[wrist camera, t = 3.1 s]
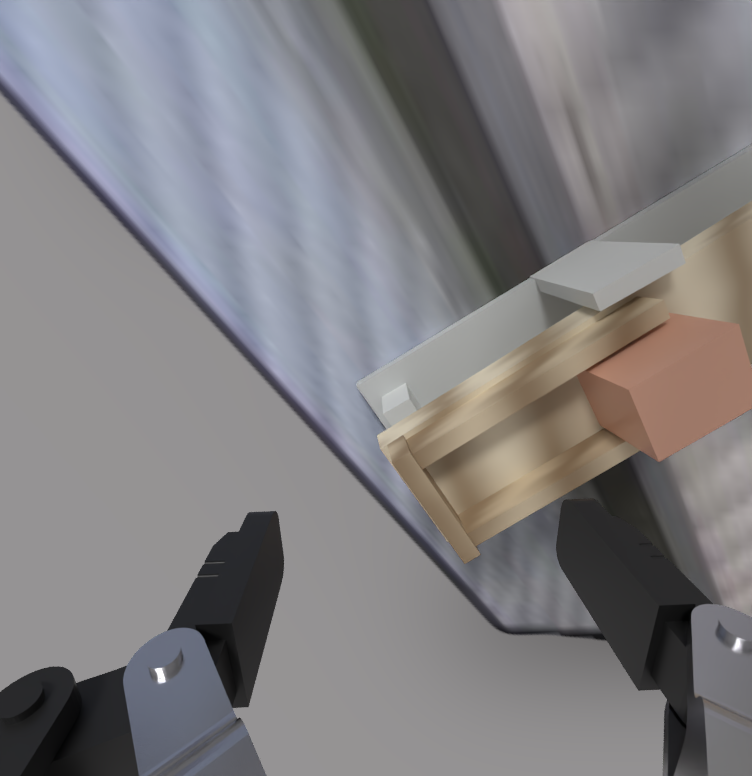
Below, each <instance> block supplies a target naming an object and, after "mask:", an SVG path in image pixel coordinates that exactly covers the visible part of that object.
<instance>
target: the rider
mask: <svg viewBox="0 0 752 776" xmlns="http://www.w3.org/2000/svg"><path fill="white" fill-rule="evenodd" d="M669 316H670V319H668V320H666V321H665V322H663V323H661V324H660V325H658V326H656V327H655V328H653V329H652V330H650V331H648V332H647V333H645V334H643V335H642V336H640V337H638V338H637V339H635V340H634V341H632V342H630V343H629V344H627V345H625V346H624V347H622V348H620V349H619V350H617V351H615V352H614V353H612V354H611V355H609V356H607V357H606V358H604V359H602V360H601V361H599V362H597V363H596V364H594V365H593V366H591V367H589V368H588V369H586V370H584V371H583V372H581V373H579V374H578V375H577V377H578V380H579V382H580V384H581V386H582V388H583V390H584V392H585V395H586V397H587V399H588V401H589V403H590V405H591V407H592V410H593V412H594V414H595V416H596V418H597V420H598V422H599V425H601V426H602V427H604V428H605V429H607V430H609V431H610V432H612V433H613V434H615V435H616V436H618V437H620V438H621V439H623V440H624V441H626V442H628V443H629V444H631V445H632V446H634V447H636V448H637V449H639V450H640V451H642V452H644V453H645V454H647V455H648V456H650V457H652V458H653V459H655V460H656V461H658V462H660V461H662V460H664V459H665V458H667V457H669V456H671V455H672V454H674V453H676V452H678V451H679V450H681V449H683V448H684V447H686V446H688V445H690V444H691V443H693V442H695V441H697V440H698V439H700V438H702V437H704V436H705V435H707V434H709V433H710V432H712V431H714V430H716V429H717V428H719V427H721V426H723V425H724V424H726V423H728V422H730V421H731V420H733V419H735V418H737V417H738V416H740V415H742V414H743V413H745V412H747V411H749V410H750V409H752V368H751V364H750V361H749V357H748V354H747V350H746V347H745V343H744V340H743V336H742V333H741V329H740V326H739V324H736V323H730V322H724V321H718V320H711V319H705V318H699V317H693V316H687V315H681V314H674V313H669Z"/></svg>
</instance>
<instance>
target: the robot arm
mask: <svg viewBox="0 0 752 776" xmlns="http://www.w3.org/2000/svg"><path fill="white" fill-rule="evenodd" d="M556 551H557V557H558V561H559V564H560V566H561V568H562V570H563V572H564V573H565V575H566V577H567V578H568V580H569V581H570V583H571V584H572V586H573V588H574V589H575V591H576V592H577V594H578V596H579V597H580V599H581V600H582V602H583V603H584V605H585V607H586V608H587V610H588V611H589V613H590V615H591V616H592V618H593V619H594V621H595V622H596V624H597V626H598V627H599V629H600V630H601V632H602V634H603V635H604V637H605V638H606V640H607V641H608V643H609V644H610V646H611V648H612V649H613V651H614V652H615V654H616V656H617V657H618V659H619V660H620V662H621V664H622V665H623V667H624V668H625V670H626V672H627V673H628V675H629V676H630V678H631V679H632V681H633V683H634V684H635V686H636V687H637V689H638V690H659V689H660V690H661V691H662V693H663V694H664V695H665V697H666V698H667V702H666V706H665V711H664V748H663V776H752V617H750V616H748V615H746V614H744V613H742V612H740V611H737V610H735V609H732V608H729V607H726V606H721V605H716V604H713V603H712V602H711V601H710V600H709V599H708V598H707V597H706V596H705V595H704V594H703V593H702V592H701V591H700V590H699V589H698V588H697V587H696V586H695V585H694V584H693V583H692V582H691V581H690V580H688V579H687V578H686V577H685V576H684V575H683V574H682V573H681V572H680V571H679V570H678V569H677V568H676V567H675V566H674V565H673V564H672V563H671V562H670V561H669V560H668V559H665V558H664V555H663V554H662V553H661V552H660V551H659V550H658V549H657V548H656V547H655V546H652V543H651V542H650V541H649V540H648V539H647V538H646V537H645V536H644V535H643V534H642V533H641V532H640V531H639V530H638V529H637V528H635V527H634V526H632V525H630V524H629V523H627V522H625V521H624V520H622V519H620V518H619V517H617V516H616V517H612V516H611V515H610V514H609V513H608V512H607V511H606V510H605V509H604V508H603V506H602V505H601V504H600V503H599V502H598V501H597V500H595V499H572V500H564V501H563V503H562V506H561V513H560V521H559V528H558V536H557V543H556ZM283 571H284V556H283V548H282V541H281V533H280V526H279V518H278V514H277V512H276V511H270V512H249V513H248V514H247V516H246V518H245V520H244V522H243V524H242V526H241V528H240V531H239V532H228V533H227V534H226V535H225V536H223V537H222V538H221V539H220V540H219V541H218V542H217V543H216V544H215V545H214V546H213V547H212V549H211V551H210V553H209V555H208V556H207V558H206V560H205V564H204V565H203V566H202V568H201V569H200V571H199V573H198V577H197V578H196V579H195V581H194V582H193V584H192V586H191V588H190V590H189V592H188V594H187V596H186V597H185V599H184V601H183V603H182V605H181V606H180V608H179V610H178V612H177V614H176V616H175V618H174V619H173V621H172V623H171V625H170V627H169V629H168V630H167V631H166V632H163V633H161V634H159V635H157V636H156V637H154V638H152V639H151V640H149V641H148V642H147V643H146V644H144V645H143V646H142V647H141V648H140V649H139V650H138V651H137V652H136V653H135V654H134V656H133V657H132V658H131V660H130V662H129V663H128V665H127V666H125V667H122V668H119V669H117V670H114V671H111V672H108V673H105V674H102V675H99V676H96V677H93V678H90V679H87V680H84V681H81V682H78V683H76V682H75V679H74V677H73V675H72V673H71V672H70V671H69V670H68V669H66V668H64V667H48V668H44V669H40V670H37V671H35V672H32V673H30V674H28V675H26V676H24V677H22V678H20V679H18V680H17V681H15V682H13V683H12V684H10V685H9V686H8V687H6V688H5V689H4V690H2V691H1V692H0V776H266V774H265V771H264V769H263V767H262V765H261V762H260V760H259V757H258V755H257V753H256V750H255V748H254V745H253V743H252V741H251V738H250V736H249V734H248V732H247V729H246V727H245V725H244V723H243V721H242V720H241V718H238V719H237V717H236V715H235V713H234V711H233V708H238V707H248V706H249V703H250V699H251V695H252V692H253V688H254V684H255V680H256V677H257V673H258V669H259V665H260V662H261V658H262V654H263V650H264V646H265V643H266V639H267V635H268V632H269V628H270V624H271V620H272V616H273V612H274V609H275V605H276V601H277V598H278V593H279V590H280V586H281V582H282V578H283Z"/></svg>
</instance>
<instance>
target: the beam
mask: <svg viewBox="0 0 752 776" xmlns="http://www.w3.org/2000/svg"><path fill="white" fill-rule="evenodd" d="M680 246H681V250H682V253H683V256H684V259H685V262H686V263H685V264H684V265H682V266H680V267H678V268H676V269H675V270H673V271H671V272H669V273H668V274H666V275H664V276H662V277H660V278H659V279H657V280H655V281H653V282H652V283H650V284H648V285H646V286H645V287H643V288H641V289H639V290H637V291H636V292H634V293H632V294H630V295H629V296H627V297H625V298H623V299H622V300H620V301H618V302H616V303H614V304H613V305H611V306H609V307H607V308H606V309H604V310H602V311H597V310H594V309H591V308H588V307H585V306H583V307H581V308H580V309H578V310H577V311H575V312H573V313H572V314H570V315H569V316H567V317H565V318H564V319H562V320H561V321H559V322H558V323H556V324H554V325H553V326H551V327H550V328H548V329H546V330H545V331H543V332H542V333H540V334H538V335H537V336H535V337H534V338H532V339H530V340H529V341H527V342H526V343H524V344H522V345H521V346H519V347H518V348H516V349H514V350H513V351H511V352H510V353H508V354H506V355H505V356H503V357H502V358H500V359H498V360H497V361H495V362H494V363H492V364H490V365H489V366H487V367H486V368H484V369H482V370H481V371H479V372H478V373H476V374H475V375H473V376H471V377H470V378H468V379H467V380H465V381H463V382H462V383H460V384H459V385H457V386H455V387H454V388H452V389H451V390H449V391H447V392H446V393H444V394H443V395H441V396H439V397H438V398H436V399H435V400H433V401H431V402H430V403H428V404H427V405H425V406H423V407H422V408H420V409H419V410H417V411H415V412H414V413H412V414H411V415H409V416H407V417H406V418H404V419H403V420H401V421H399V422H398V423H396V424H395V425H393V426H392V427H390V428H388V429H387V430H385V431H384V432H382V433H380V434H379V435H377V437H378V441H379V445H380V449H381V451H382V452H383V453H384V455H385V456H386V457H387V459H388V460H389V462H390V463H391V464H392V466H393V467H394V469H395V470H396V471H397V473H398V474H399V475H400V477H401V478H402V480H403V481H404V482H405V484H406V485H407V487H408V488H409V489H410V491H411V492H412V493H413V495H414V496H415V498H416V499H417V500H418V502H419V503H420V505H421V506H422V507H423V509H424V510H425V511H426V513H427V514H428V516H429V517H430V518H431V520H432V521H433V523H434V524H435V525H436V527H437V528H438V529H439V531H440V532H441V534H442V535H443V536H444V538H445V539H446V541H447V542H449V543H450V544H451V546H452V547H453V548H454V550H455V551H456V553H457V554H458V555H459V557H460V558H461V560H462V561H463V562H464V564H465V563H467V562H469V561H471V560H472V559H474V558H476V557H478V556H479V555H481V554H480V552H479V550H478V548H477V545H479V544H481V543H482V542H484V541H486V540H487V539H489V538H491V537H493V536H494V535H496V534H498V533H499V532H501V531H503V530H505V529H506V528H508V527H510V526H512V525H513V524H515V523H517V522H518V521H520V520H522V519H524V518H525V517H527V516H529V515H530V514H532V513H534V512H536V511H537V510H539V509H541V508H542V507H544V506H546V505H548V504H549V503H551V502H553V501H555V500H556V499H558V498H560V497H561V496H563V495H565V494H567V493H568V492H570V491H572V490H573V489H575V488H577V487H579V486H580V485H582V484H584V483H585V482H587V481H589V480H591V479H592V478H594V477H596V476H597V475H599V474H601V473H603V472H604V471H606V470H608V469H610V468H611V467H613V466H615V465H616V464H618V463H620V462H622V461H623V460H625V459H627V458H628V457H630V456H632V455H634V454H635V453H637V452H639V451H640V450H639V449H637V448H636V447H634V446H632V445H631V444H629V443H628V442H626V441H624V440H623V439H621V438H620V437H618V436H616V435H615V434H613V433H612V432H610V431H609V430H607V429H605V428H604V427H602V426H601V425H599V422H598V420H597V418H596V416H595V414H594V412H593V410H592V407H591V405H590V403H589V401H588V399H587V397H586V395H585V392H584V390H583V388H582V386H581V384H580V382H579V380H578V377H577V375H578V374H579V373H581V372H583V371H584V370H586V369H588V368H589V367H591V366H593V365H594V364H596V363H597V362H599V361H601V360H602V359H604V358H606V357H607V356H609V355H611V354H612V353H614V352H615V351H617V350H619V349H620V348H622V347H624V346H625V345H627V344H629V343H630V342H632V341H634V340H635V339H637V338H638V337H640V336H642V335H643V334H645V333H647V332H648V331H650V330H652V329H653V328H655V327H656V326H658V325H660V324H661V323H663V322H665V321H666V320H668V319H670V316H669V313H674V314H681V315H687V316H693V317H699V318H705V319H711V320H718V321H724V322H730V323H736V324H739V326H740V329H741V333H742V336H743V340H744V343H745V347H746V350H747V354H748V357H749V361H750V364H752V201H751V202H749V203H747V204H746V205H744V206H743V207H741V208H739V209H738V210H736V211H735V212H733V213H731V214H730V215H728V216H727V217H725V218H723V219H722V220H720V221H719V222H717V223H716V224H714V225H712V226H711V227H709V228H708V229H706V230H704V231H703V232H701V233H700V234H698V235H696V236H695V237H693V238H692V239H690V240H688V241H687V242H685V243H684V244H682V245H680Z"/></svg>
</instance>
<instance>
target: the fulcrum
mask: <svg viewBox="0 0 752 776" xmlns="http://www.w3.org/2000/svg"><path fill="white" fill-rule="evenodd" d="M751 201H752V144H751V145H750V146H748V147H746V148H745V149H743V150H741V151H740V152H738V153H736V154H735V155H733V156H731V157H730V158H728V159H726V160H725V161H723V162H721V163H720V164H718V165H716V166H715V167H713V168H711V169H710V170H708V171H706V172H705V173H703V174H701V175H700V176H698V177H696V178H695V179H693V180H692V181H690V182H688V183H687V184H685V185H683V186H682V187H680V188H678V189H677V190H675V191H673V192H672V193H670V194H668V195H667V196H665V197H663V198H662V199H660V200H658V201H657V202H655V203H653V204H652V205H650V206H648V207H647V208H645V209H643V210H642V211H640V212H638V213H637V214H635V215H633V216H632V217H630V218H628V219H627V220H625V221H623V222H622V223H620V224H618V225H617V226H615V227H613V228H612V229H610V230H609V231H607V232H605V233H604V234H602V235H600V236H599V237H597V238H595V239H594V240H592V241H588V242H586V243H585V244H583V245H581V246H580V247H578V248H576V249H575V250H573V251H571V252H570V253H568V254H566V255H565V256H563V257H561V258H560V259H558V260H556V261H555V262H553V263H551V264H550V265H548V266H546V267H545V268H543V269H541V270H540V271H538V272H536V273H535V274H533V275H531V276H530V278H529V279H527V280H525V281H524V282H522V283H521V284H519V285H517V286H516V287H514V288H512V289H511V290H509V291H507V292H506V293H504V294H502V295H501V296H499V297H497V298H496V299H494V300H492V301H491V302H489V303H487V304H486V305H484V306H482V307H481V308H479V309H477V310H476V311H474V312H472V313H471V314H469V315H467V316H466V317H464V318H462V319H461V320H459V321H457V322H456V323H454V324H452V325H451V326H449V327H447V328H446V329H444V330H442V331H441V332H439V333H438V334H436V335H434V336H433V337H431V338H429V339H428V340H426V341H424V342H423V343H421V344H419V345H418V346H416V347H414V348H413V349H411V350H409V351H408V352H406V353H404V354H403V355H401V356H399V357H398V358H396V359H394V360H393V361H391V362H389V363H388V364H386V365H384V366H383V367H381V368H379V369H378V370H376V371H374V372H373V373H371V374H369V375H368V376H366V377H364V378H363V379H361V380H359V381H358V382H357V388H358V389H359V391H360V392H361V393H362V395H363V396H364V398H365V399H366V401H367V402H368V403H369V405H370V406H371V408H372V409H373V411H374V412H375V413H376V415H377V416H378V418H379V419H380V421H381V422H382V423H383V425H384V426H385V428H386V429H388V428H390V427H392V426H393V425H395V424H396V423H398V422H399V421H401V420H403V419H404V418H406V417H407V416H409V415H411V414H412V413H414V412H415V411H417V410H419V409H420V408H422V407H423V406H425V405H427V404H428V403H430V402H431V401H433V400H435V399H436V398H438V397H439V396H441V395H443V394H444V393H446V392H447V391H449V390H451V389H452V388H454V387H455V386H457V385H459V384H460V383H462V382H463V381H465V380H467V379H468V378H470V377H471V376H473V375H475V374H476V373H478V372H479V371H481V370H482V369H484V368H486V367H487V366H489V365H490V364H492V363H494V362H495V361H497V360H498V359H500V358H502V357H503V356H505V355H506V354H508V353H510V352H511V351H513V350H514V349H516V348H518V347H519V346H521V345H522V344H524V343H526V342H527V341H529V340H530V339H532V338H534V337H535V336H537V335H538V334H540V333H542V332H543V331H545V330H546V329H548V328H550V327H551V326H553V325H554V324H556V323H558V322H559V321H561V320H562V319H564V318H565V317H567V316H569V315H570V314H572V313H573V312H575V311H577V310H578V309H580V308H581V307H583V306H585V307H588V308H591V309H594V310H597V311H602V310H604V309H606V308H607V307H609V306H611V305H613V304H614V303H616V302H618V301H620V300H622V299H623V298H625V297H627V296H629V295H630V294H632V293H634V292H636V291H637V290H639V289H641V288H643V287H645V286H646V285H648V284H650V283H652V282H653V281H655V280H657V279H659V278H660V277H662V276H664V275H666V274H668V273H669V272H671V271H673V270H675V269H676V268H678V267H680V266H682V265H684V264H685V263H686V262H685V259H684V256H683V253H682V250H681V246H680V245H682V244H684V243H685V242H687V241H688V240H690V239H692V238H693V237H695V236H696V235H698V234H700V233H701V232H703V231H704V230H706V229H708V228H709V227H711V226H712V225H714V224H716V223H717V222H719V221H720V220H722V219H723V218H725V217H727V216H728V215H730V214H731V213H733V212H735V211H736V210H738V209H739V208H741V207H743V206H744V205H746V204H747V203H749V202H751Z"/></svg>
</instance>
